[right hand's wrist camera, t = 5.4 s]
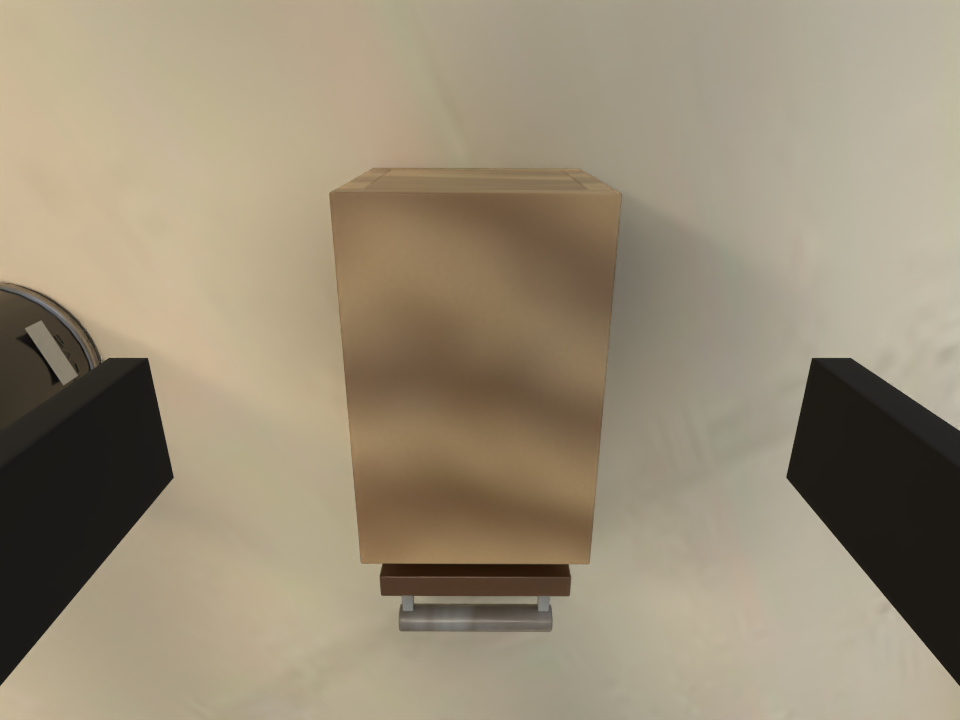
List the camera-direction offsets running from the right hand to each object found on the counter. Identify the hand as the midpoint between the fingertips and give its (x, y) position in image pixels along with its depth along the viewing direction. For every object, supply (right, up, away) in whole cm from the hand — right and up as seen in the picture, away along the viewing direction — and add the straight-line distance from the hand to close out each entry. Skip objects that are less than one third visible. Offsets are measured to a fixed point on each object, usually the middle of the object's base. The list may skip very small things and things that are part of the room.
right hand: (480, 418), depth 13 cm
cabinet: (0, +3, +21) cm, 21 cm away
